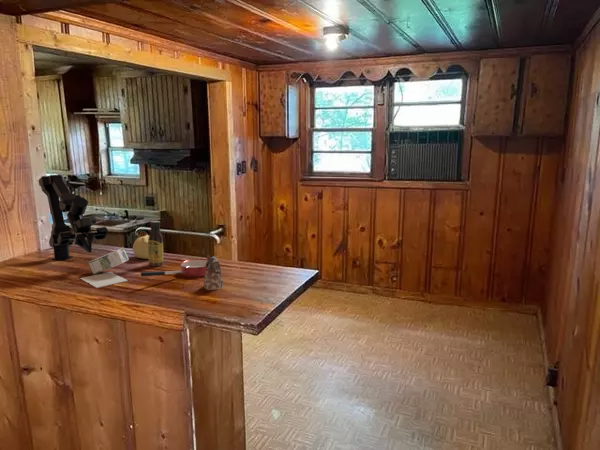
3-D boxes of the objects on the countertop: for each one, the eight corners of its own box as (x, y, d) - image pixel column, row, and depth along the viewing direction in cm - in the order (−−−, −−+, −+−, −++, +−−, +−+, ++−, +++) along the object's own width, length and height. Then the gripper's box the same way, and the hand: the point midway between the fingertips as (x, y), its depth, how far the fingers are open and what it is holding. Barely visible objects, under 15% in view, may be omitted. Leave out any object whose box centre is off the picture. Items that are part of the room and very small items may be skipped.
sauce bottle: (145, 266, 191) (143, 221, 187) (155, 262, 196) (153, 219, 193) (157, 267, 188) (155, 222, 185) (167, 264, 194) (164, 220, 190)
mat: (80, 278, 172) (80, 278, 172) (110, 272, 181) (110, 271, 181) (96, 288, 161) (96, 287, 161) (127, 281, 170) (127, 280, 170)
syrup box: (100, 271, 182) (130, 259, 180) (92, 275, 177) (123, 263, 174) (94, 259, 182) (124, 247, 179) (86, 262, 176) (116, 250, 174)
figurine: (214, 291, 159) (213, 259, 157) (200, 287, 163) (198, 257, 160) (227, 286, 165) (226, 255, 163) (213, 282, 169) (212, 253, 166)
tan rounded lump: (155, 260, 199) (154, 238, 197) (129, 260, 200) (128, 237, 198) (163, 254, 211) (162, 233, 209) (139, 254, 211) (137, 232, 209)
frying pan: (158, 293, 157) (157, 276, 156) (135, 286, 163) (134, 270, 162) (219, 271, 183) (218, 257, 182) (197, 267, 190) (196, 253, 189)
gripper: (57, 212, 171) (69, 244, 165) (104, 208, 184) (117, 237, 179) (52, 229, 177) (64, 260, 172) (98, 223, 191) (111, 252, 185)
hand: (90, 252), depth 177 cm, fingers closed
